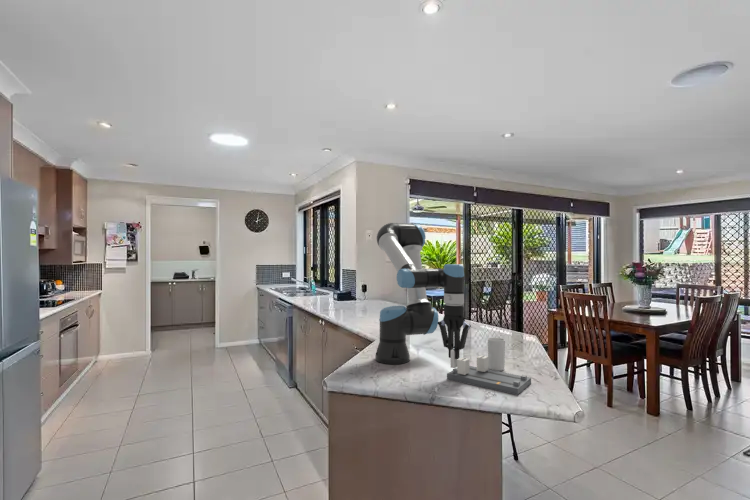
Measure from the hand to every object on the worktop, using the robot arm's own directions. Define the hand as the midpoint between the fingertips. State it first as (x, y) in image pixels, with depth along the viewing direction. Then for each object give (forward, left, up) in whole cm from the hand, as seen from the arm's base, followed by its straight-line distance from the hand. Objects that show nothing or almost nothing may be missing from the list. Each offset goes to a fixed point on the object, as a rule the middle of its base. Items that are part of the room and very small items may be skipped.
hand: (454, 367), depth 142 cm
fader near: (+4, 0, -2) cm, 4 cm away
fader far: (+8, +8, -2) cm, 12 cm away
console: (+12, +4, -4) cm, 13 cm away
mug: (+8, +23, -4) cm, 25 cm away
